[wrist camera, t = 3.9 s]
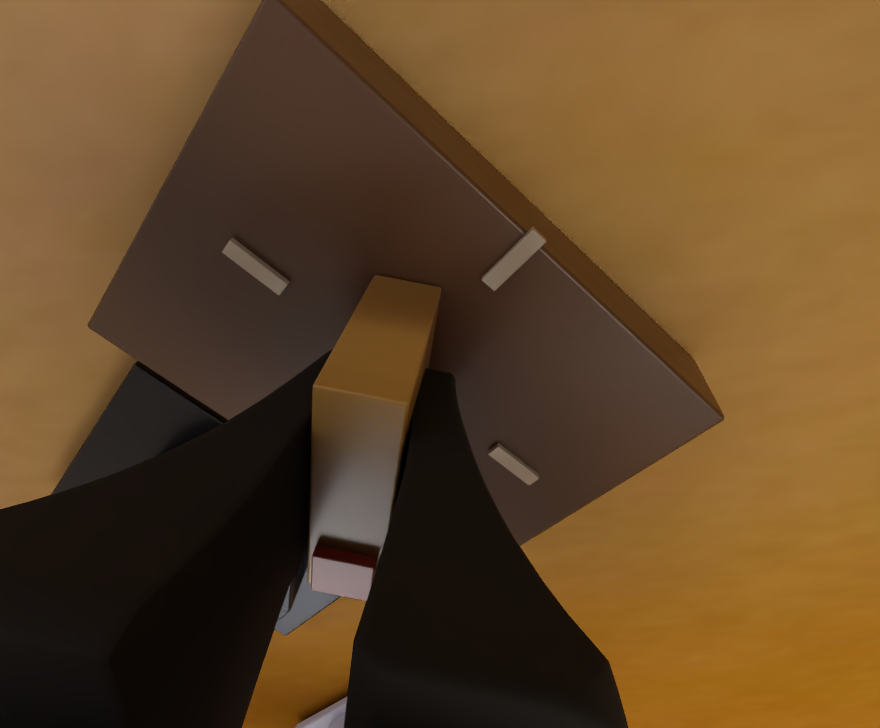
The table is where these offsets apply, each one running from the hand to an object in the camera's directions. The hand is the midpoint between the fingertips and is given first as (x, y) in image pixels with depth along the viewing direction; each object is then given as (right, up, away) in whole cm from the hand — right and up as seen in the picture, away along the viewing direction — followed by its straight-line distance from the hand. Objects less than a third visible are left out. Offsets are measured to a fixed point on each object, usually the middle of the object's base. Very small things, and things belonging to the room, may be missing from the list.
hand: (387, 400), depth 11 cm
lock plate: (0, +2, +3) cm, 4 cm away
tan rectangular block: (0, +1, +1) cm, 1 cm away
